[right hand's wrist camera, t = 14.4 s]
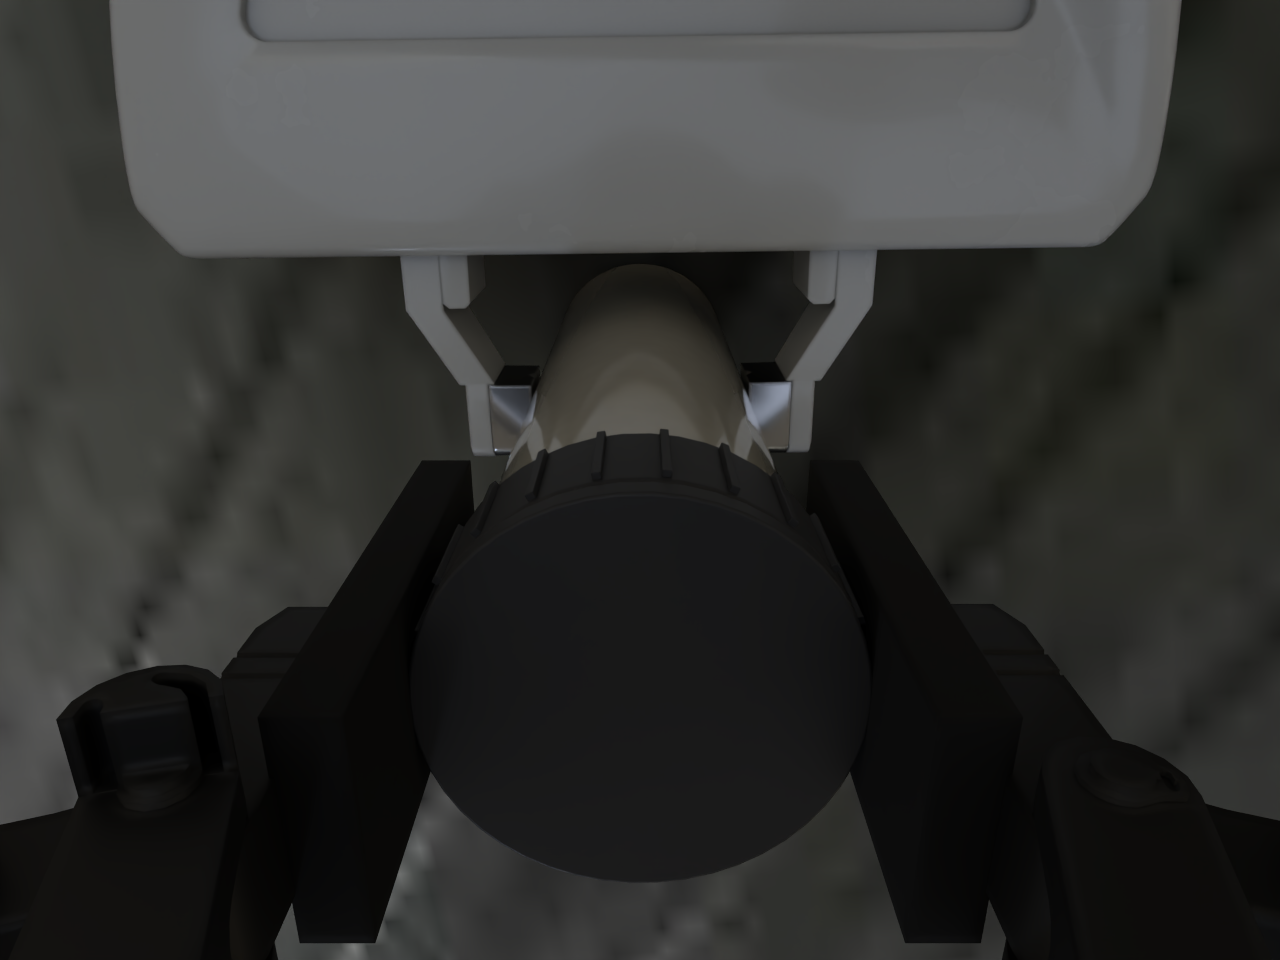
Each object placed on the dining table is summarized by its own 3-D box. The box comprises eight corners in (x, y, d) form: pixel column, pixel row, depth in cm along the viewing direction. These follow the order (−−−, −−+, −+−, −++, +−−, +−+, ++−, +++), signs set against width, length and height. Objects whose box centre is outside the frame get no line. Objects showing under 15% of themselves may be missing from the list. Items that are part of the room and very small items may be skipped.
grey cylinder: (752, 366, 27) (917, 726, 11) (621, 452, 28) (594, 899, 12) (661, 229, 26) (698, 413, 10) (526, 325, 27) (351, 640, 11)
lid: (916, 659, 12) (964, 755, 11) (593, 836, 14) (586, 951, 12) (699, 340, 11) (711, 386, 9) (353, 572, 12) (300, 656, 10)
